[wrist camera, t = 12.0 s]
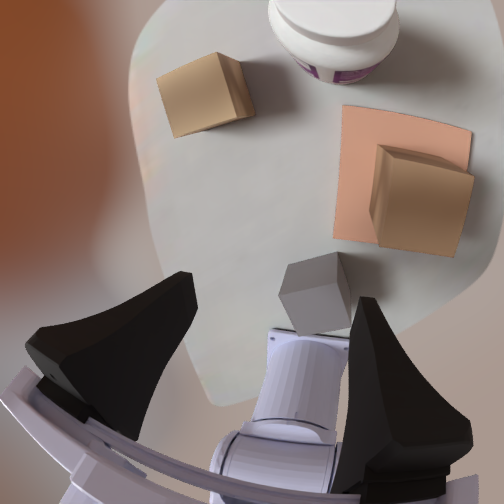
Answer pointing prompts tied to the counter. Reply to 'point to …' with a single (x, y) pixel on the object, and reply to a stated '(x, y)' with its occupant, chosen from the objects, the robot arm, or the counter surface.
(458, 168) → the walnut block
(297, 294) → the gray block
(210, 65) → the oak block
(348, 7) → the pill bottle
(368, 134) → the terracotta coaster
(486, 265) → the counter surface
